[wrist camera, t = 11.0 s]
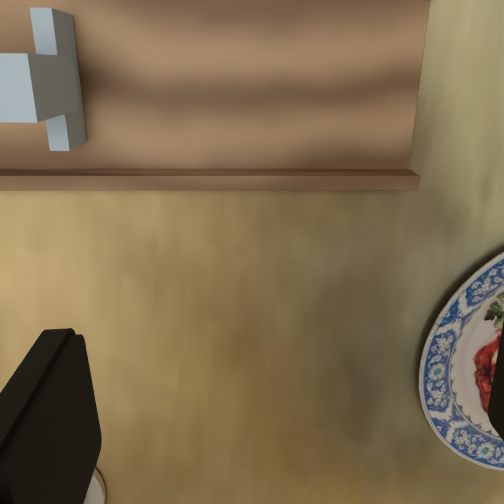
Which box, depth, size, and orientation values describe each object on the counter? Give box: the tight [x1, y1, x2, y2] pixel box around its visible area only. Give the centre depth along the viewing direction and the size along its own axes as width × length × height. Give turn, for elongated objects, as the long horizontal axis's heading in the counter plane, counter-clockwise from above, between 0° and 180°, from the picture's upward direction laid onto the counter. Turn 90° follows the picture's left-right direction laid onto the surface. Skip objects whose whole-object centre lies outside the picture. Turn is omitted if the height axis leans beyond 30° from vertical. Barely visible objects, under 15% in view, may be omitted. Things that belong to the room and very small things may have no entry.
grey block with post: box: [0, 7, 87, 151], centre depth 27 cm, size 8×3×11 cm, turn 179°
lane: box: [0, 0, 430, 191], centre depth 31 cm, size 14×50×6 cm, turn 89°
